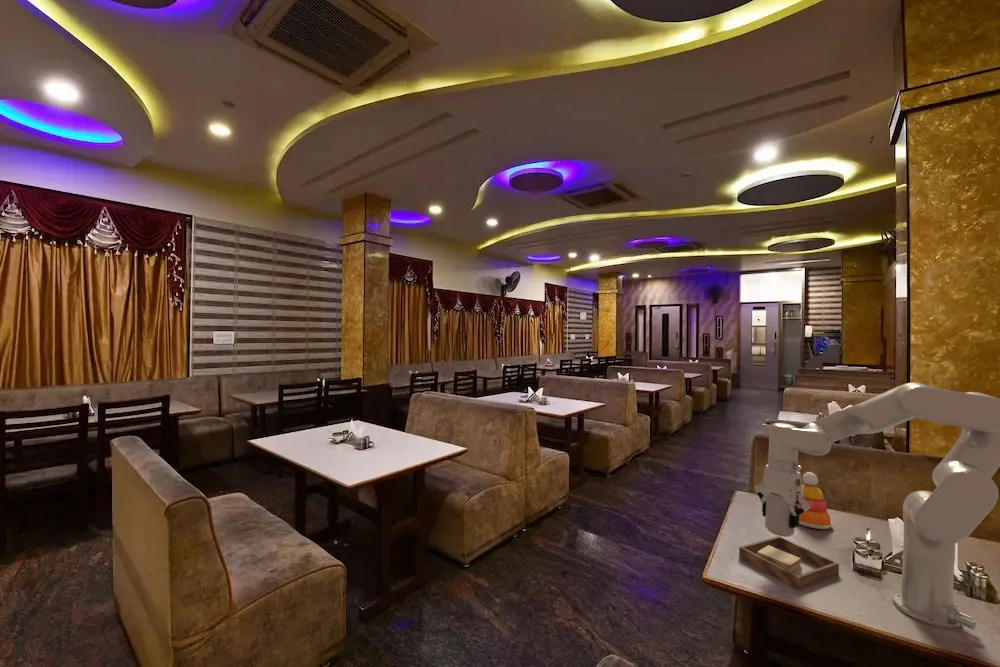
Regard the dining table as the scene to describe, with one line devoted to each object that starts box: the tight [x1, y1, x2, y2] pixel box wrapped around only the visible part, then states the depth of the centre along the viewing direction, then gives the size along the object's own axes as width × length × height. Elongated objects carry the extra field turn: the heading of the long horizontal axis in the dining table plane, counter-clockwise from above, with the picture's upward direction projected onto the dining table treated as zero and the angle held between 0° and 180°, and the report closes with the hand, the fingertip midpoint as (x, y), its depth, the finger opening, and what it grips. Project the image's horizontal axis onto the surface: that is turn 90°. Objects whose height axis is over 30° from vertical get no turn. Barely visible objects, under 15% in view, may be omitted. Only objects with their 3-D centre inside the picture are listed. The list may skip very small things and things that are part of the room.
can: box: [764, 493, 795, 538], centre depth 130 cm, size 8×8×12 cm
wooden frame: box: [738, 535, 840, 591], centre depth 132 cm, size 18×20×4 cm
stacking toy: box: [798, 471, 834, 530], centre depth 163 cm, size 14×14×20 cm
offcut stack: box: [757, 545, 803, 576], centre depth 130 cm, size 10×9×4 cm
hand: (779, 521), depth 130 cm, fingers closed on can, 7 cm apart
